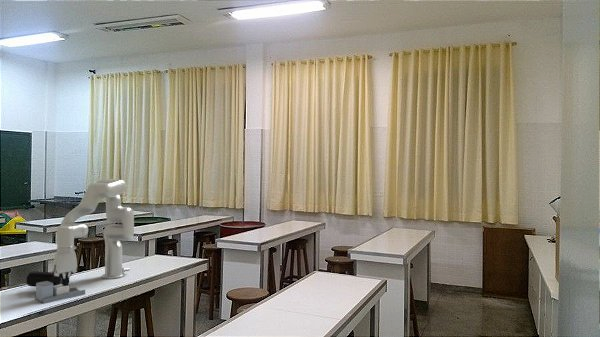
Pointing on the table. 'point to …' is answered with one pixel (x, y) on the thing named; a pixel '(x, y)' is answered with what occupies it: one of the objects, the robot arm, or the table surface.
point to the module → (60, 290)
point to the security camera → (42, 278)
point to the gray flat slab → (63, 295)
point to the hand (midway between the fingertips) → (65, 285)
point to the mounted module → (44, 290)
